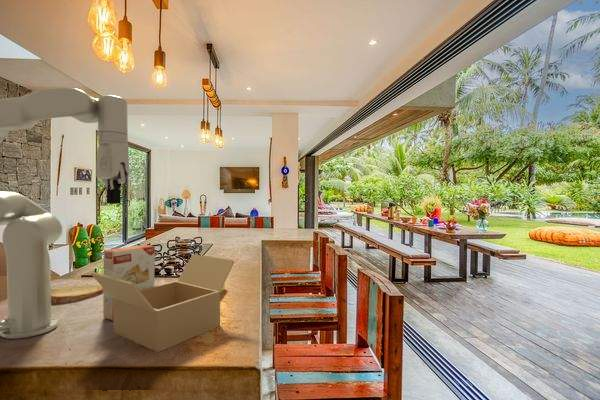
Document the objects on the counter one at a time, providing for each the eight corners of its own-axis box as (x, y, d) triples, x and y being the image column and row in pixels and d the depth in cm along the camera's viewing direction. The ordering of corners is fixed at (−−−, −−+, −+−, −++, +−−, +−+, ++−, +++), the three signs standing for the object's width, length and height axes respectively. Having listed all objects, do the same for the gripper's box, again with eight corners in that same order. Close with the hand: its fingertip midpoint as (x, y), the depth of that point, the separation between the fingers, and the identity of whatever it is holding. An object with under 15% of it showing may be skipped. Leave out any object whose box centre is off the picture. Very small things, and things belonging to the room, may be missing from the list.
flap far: (177, 280, 111) (178, 281, 111) (219, 290, 100) (220, 291, 100) (192, 253, 115) (193, 254, 116) (233, 260, 105) (234, 261, 105)
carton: (157, 352, 83) (157, 311, 83) (113, 332, 95) (113, 296, 94) (220, 325, 100) (220, 291, 100) (176, 311, 111) (176, 280, 111)
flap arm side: (155, 310, 83) (154, 312, 83) (114, 296, 94) (112, 298, 94) (132, 282, 78) (131, 284, 78) (91, 271, 89) (89, 272, 89)
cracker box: (113, 322, 102) (113, 251, 102) (102, 318, 106) (102, 249, 105) (155, 308, 114) (155, 245, 114) (144, 305, 117) (144, 243, 117)
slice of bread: (109, 290, 136) (109, 281, 136) (83, 305, 118) (83, 294, 118) (61, 291, 135) (61, 281, 135) (28, 306, 117) (28, 295, 117)
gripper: (86, 140, 102) (87, 203, 102) (113, 136, 93) (114, 204, 94) (112, 143, 108) (113, 202, 108) (140, 139, 99) (140, 203, 100)
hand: (113, 203), depth 101 cm, fingers closed
